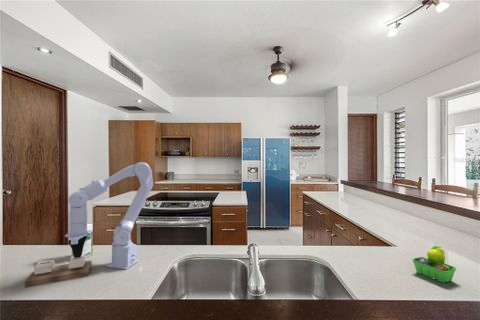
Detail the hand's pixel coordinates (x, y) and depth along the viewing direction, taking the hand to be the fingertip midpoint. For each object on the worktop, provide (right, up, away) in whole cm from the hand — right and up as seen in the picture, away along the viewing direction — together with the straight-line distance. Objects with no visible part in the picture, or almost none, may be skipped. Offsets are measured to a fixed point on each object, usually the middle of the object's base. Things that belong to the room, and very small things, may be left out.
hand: (77, 256), depth 87 cm
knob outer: (-9, -3, -5) cm, 10 cm away
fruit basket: (+139, -7, -1) cm, 139 cm away
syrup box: (-9, -6, +15) cm, 18 cm away
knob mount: (-4, -6, -2) cm, 8 cm away
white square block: (0, -3, 0) cm, 3 cm away
